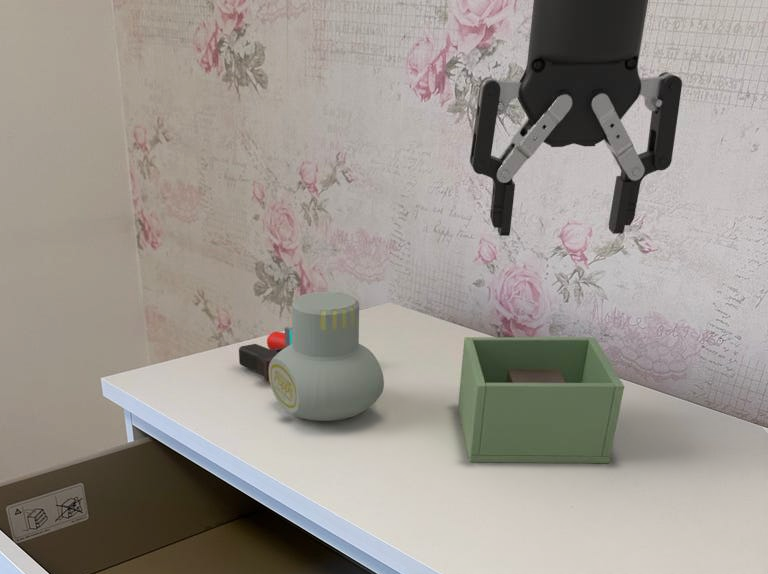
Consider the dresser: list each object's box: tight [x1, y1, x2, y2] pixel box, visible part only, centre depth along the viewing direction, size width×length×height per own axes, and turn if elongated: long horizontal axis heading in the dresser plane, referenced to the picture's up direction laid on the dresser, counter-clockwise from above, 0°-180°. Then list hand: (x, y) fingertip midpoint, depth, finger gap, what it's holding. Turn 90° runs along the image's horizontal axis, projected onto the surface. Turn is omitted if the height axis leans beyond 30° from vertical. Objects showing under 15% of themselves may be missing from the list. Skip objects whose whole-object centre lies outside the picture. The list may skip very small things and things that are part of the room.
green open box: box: [457, 336, 625, 464], centre depth 81 cm, size 11×11×7 cm
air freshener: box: [269, 291, 385, 422], centre depth 85 cm, size 11×8×10 cm
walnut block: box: [506, 369, 565, 383], centre depth 81 cm, size 4×4×4 cm
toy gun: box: [238, 326, 292, 383], centre depth 96 cm, size 10×12×5 cm
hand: (558, 232), depth 73 cm, fingers open, 8 cm apart
